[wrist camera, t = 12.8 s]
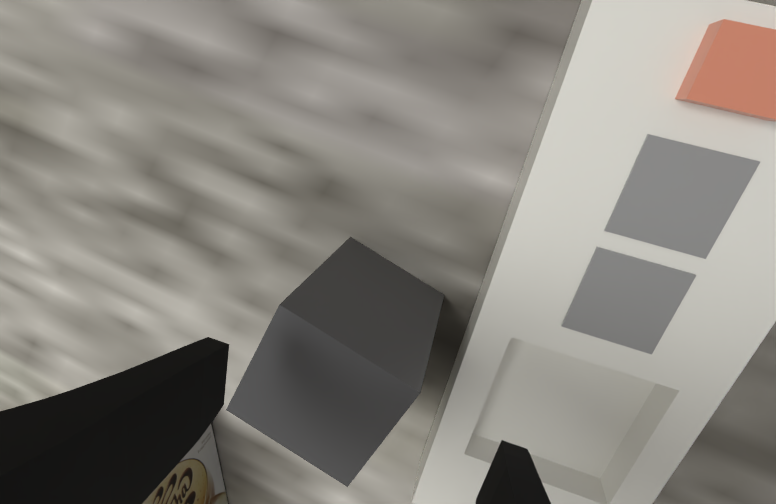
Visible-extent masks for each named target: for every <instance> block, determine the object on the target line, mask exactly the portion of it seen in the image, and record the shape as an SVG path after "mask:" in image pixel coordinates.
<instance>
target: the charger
mask: <svg viewBox="0 0 776 504" xmlns="http://www.w3.org/2000/svg"><path fill="white" fill-rule="evenodd" d="M443 298H444V294H442V293H440V292H439V291H437V290H435V289H434V288H432V287H431V286H429V285H427V284H426V283H424V282H423V281H421V280H419V279H418V278H416V277H414V276H413V275H411V274H410V273H408V272H406V271H405V270H403V269H401V268H400V267H398V266H397V265H395V264H393V263H392V262H390V261H389V260H387V259H385V258H384V257H382V256H380V255H379V254H377V253H376V252H374V251H372V250H371V249H369V248H368V247H366V246H364V245H363V244H361V243H359V242H358V241H356V240H355V239H353V238H351V237H350V238H349V239H348V240H347V241H346V242H345V243H344V244H343V245H342V246H341V247H339V248H338V249H337V250H336V251H335V252H334V253H333V254H332V255H331V256H330V257H329V258H328V259H327V260H326V261H325V262H324V263H323V264H322V265H321V266H320V267H319V268H317V269H316V270H315V271H314V272H313V273H312V274H311V275H310V276H309V277H308V278H307V279H306V280H305V281H304V282H303V283H302V284H301V285H300V286H299V287H298V288H296V289H295V290H294V291H293V292H292V293H291V294H290V295H289V296H288V297H287V298H286V299H285V300H284V301H283V302H282V303H281V304H280V305H279V307H278V309H277V311H276V313H275V315H274V317H273V319H272V321H271V323H270V324H269V326H268V328H267V330H266V332H265V334H264V336H263V338H262V340H261V342H260V344H259V346H258V348H257V350H256V352H255V354H254V356H253V358H252V360H251V362H250V364H249V366H248V368H247V370H246V372H245V374H244V376H243V378H242V380H241V382H240V384H239V386H238V388H237V390H236V392H235V394H234V396H233V398H232V399H231V401H230V403H229V405H228V407H227V409H226V410H227V411H229V412H230V413H232V414H233V415H235V416H237V417H238V418H240V419H241V420H243V421H245V422H246V423H248V424H249V425H251V426H252V427H254V428H256V429H257V430H259V431H260V432H262V433H263V434H265V435H267V436H268V437H270V438H271V439H273V440H274V441H276V442H278V443H279V444H281V445H282V446H284V447H286V448H287V449H289V450H290V451H292V452H293V453H295V454H297V455H298V456H300V457H301V458H303V459H304V460H306V461H308V462H309V463H311V464H312V465H314V466H315V467H317V468H319V469H320V470H322V471H323V472H325V473H327V474H328V475H330V476H331V477H333V478H334V479H336V480H338V481H339V482H341V483H342V484H344V485H345V486H347V487H348V486H349V484H350V483H351V482H352V480H353V479H354V478H355V476H356V475H357V474H358V473H359V471H360V470H361V469H362V467H363V466H364V465H365V464H366V462H367V461H368V460H369V458H370V457H371V456H372V455H373V453H374V452H375V451H376V449H377V448H378V447H379V445H380V444H381V443H382V442H383V440H384V439H385V438H386V436H387V435H388V434H389V433H390V431H391V430H392V429H393V427H394V426H395V425H396V424H397V422H398V421H399V420H400V418H401V417H402V416H403V414H404V413H405V412H406V411H407V409H408V408H409V407H410V405H411V404H412V403H413V402H414V400H415V399H416V398H417V396H418V395H419V394H420V392H421V388H422V384H423V380H424V376H425V372H426V368H427V363H428V359H429V355H430V351H431V347H432V343H433V339H434V335H435V331H436V327H437V323H438V318H439V314H440V310H441V306H442V302H443Z"/></svg>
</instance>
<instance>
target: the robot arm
mask: <svg viewBox="0 0 776 504" xmlns="http://www.w3.org/2000/svg"><path fill="white" fill-rule="evenodd" d="M228 350H229V344H226V343H224V342H221V341H218V340H215V339H212V338H209V337H207V338H205V339H202V340H199V341H197V342H194V343H192V344H189V345H187V346H184V347H182V348H179V349H177V350H175V351H172V352H170V353H167V354H165V355H163V356H160V357H158V358H155V359H153V360H150V361H148V362H145V363H143V364H140V365H138V366H135V367H133V368H130V369H128V370H125V371H123V372H120V373H118V374H115V375H112V376H109V377H107V378H104V379H101V380H98V381H95V382H93V383H90V384H87V385H84V386H82V387H79V388H76V389H73V390H70V391H67V392H64V393H61V394H58V395H55V396H52V397H49V398H46V399H42V400H39V401H36V402H32V403H29V404H25V405H22V406H18V407H15V408H11V409H8V410H4V411H0V504H142V503H143V502H144V501H145V500H146V499H147V498H148V497H149V496H150V494H151V493H152V492H153V491H154V490H155V489H156V488H157V487H158V486H159V484H160V483H161V482H162V481H163V480H164V479H165V478H166V477H167V476H168V474H169V473H170V472H171V471H172V470H173V469H174V468H175V467H176V465H177V464H178V463H179V462H180V461H181V460H182V459H183V458H184V456H185V455H186V454H187V453H188V452H189V451H190V450H191V449H192V447H193V446H194V445H195V444H196V443H197V442H198V440H199V439H200V438H201V436H202V435H203V434H204V432H205V431H206V430H207V428H208V427H209V425H210V424H211V423H212V421H213V420H214V418H215V417H216V415H217V414H218V412H219V411H220V409H221V408H222V406H223V405H224V395H225V384H226V372H227V361H228ZM476 504H551V502H550V500H549V498H548V495H547V493H546V491H545V488H544V486H543V484H542V481H541V479H540V477H539V474H538V472H537V470H536V467H535V465H534V462H533V460H532V458H531V455H530V453H529V451H528V449H526V448H523V447H520V446H518V445H515V444H512V443H509V442H506V441H503V440H501V443H500V445H499V447H498V449H497V452H496V454H495V456H494V459H493V461H492V463H491V466H490V468H489V470H488V473H487V475H486V477H485V480H484V482H483V484H482V487H481V489H480V491H479V493H478V496H477V498H476Z"/></svg>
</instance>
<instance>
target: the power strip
mask: <svg viewBox="0 0 776 504" xmlns="http://www.w3.org/2000/svg"><path fill="white" fill-rule="evenodd" d="M775 322H776V6H771V5H766V4H761V3H756V2H751V1H746V0H581V3H580V6H579V9H578V12H577V15H576V18H575V20H574V23H573V26H572V29H571V32H570V35H569V37H568V40H567V43H566V46H565V49H564V52H563V55H562V57H561V60H560V63H559V66H558V69H557V72H556V74H555V77H554V80H553V83H552V86H551V89H550V92H549V94H548V97H547V100H546V103H545V106H544V109H543V111H542V114H541V117H540V120H539V123H538V126H537V129H536V131H535V134H534V137H533V140H532V143H531V146H530V149H529V151H528V154H527V157H526V160H525V163H524V166H523V168H522V171H521V174H520V177H519V180H518V183H517V186H516V188H515V191H514V194H513V197H512V200H511V203H510V205H509V208H508V211H507V214H506V217H505V220H504V223H503V225H502V228H501V231H500V234H499V237H498V240H497V242H496V245H495V248H494V251H493V254H492V257H491V260H490V262H489V265H488V268H487V271H486V274H485V277H484V280H483V282H482V285H481V288H480V291H479V294H478V297H477V299H476V302H475V305H474V308H473V311H472V314H471V317H470V319H469V322H468V325H467V328H466V331H465V334H464V336H463V339H462V342H461V345H460V348H459V351H458V354H457V356H456V359H455V362H454V365H453V368H452V371H451V373H450V376H449V379H448V382H447V385H446V388H445V391H444V393H443V396H442V399H441V402H440V405H439V408H438V410H437V413H436V416H435V419H434V422H433V425H432V428H431V430H430V433H429V436H428V439H427V442H426V445H425V448H424V450H423V453H422V456H421V459H420V463H419V468H418V473H417V478H416V483H415V488H414V493H413V498H412V503H414V504H476V498H477V496H478V493H479V491H480V489H481V487H482V484H483V482H484V480H485V477H486V475H487V473H488V470H489V468H490V466H491V463H492V461H493V459H494V456H495V454H496V452H497V449H498V447H499V445H500V443H501V440H503V441H506V442H509V443H512V444H515V445H518V446H520V447H523V448H526V449H528V451H529V453H530V455H531V458H532V460H533V462H534V465H535V467H536V470H537V472H538V474H539V477H540V479H541V481H542V484H543V486H544V488H545V491H546V493H547V495H548V498H549V500H550V502H551V504H653V502H654V501H655V499H656V498H657V496H658V495H659V493H660V492H661V490H662V489H663V487H664V486H665V484H666V483H667V481H668V480H669V478H670V477H671V475H672V474H673V472H674V471H675V469H676V468H677V467H678V465H679V464H680V462H681V461H682V459H683V458H684V456H685V455H686V453H687V452H688V450H689V449H690V447H691V446H692V444H693V443H694V441H695V440H696V438H697V437H698V435H699V434H700V432H701V431H702V430H703V428H704V427H705V425H706V424H707V422H708V421H709V419H710V418H711V416H712V415H713V413H714V412H715V410H716V409H717V407H718V406H719V404H720V403H721V401H722V400H723V398H724V397H725V396H726V394H727V393H728V391H729V390H730V388H731V387H732V385H733V384H734V382H735V381H736V379H737V378H738V376H739V375H740V373H741V372H742V370H743V369H744V367H745V366H746V364H747V363H748V361H749V360H750V359H751V357H752V356H753V354H754V353H755V351H756V350H757V348H758V347H759V345H760V344H761V342H762V341H763V339H764V338H765V336H766V335H767V333H768V332H769V330H770V329H771V327H772V326H773V325H774V323H775Z"/></svg>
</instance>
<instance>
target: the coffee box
mask: <svg viewBox="0 0 776 504" xmlns="http://www.w3.org/2000/svg"><path fill="white" fill-rule="evenodd" d="M142 504H228V501H227V496H226V491H225V487H224V482H223V477H222V472H221V467H220V463H219V458H218V453H217V448H216V443H215V439H214V434H213V430H212V425H211V424H210V425H209V427H208V428H207V430H206V431H205V432H204V434H203V435H202V436H201V438H200V439H199V440H198V442H197V443H196V444H195V445H194V446H193V447H192V449H191V450H190V451H189V452H188V453H187V454H186V455H185V456H184V458H183V459H182V460H181V461H180V462H179V463H178V464H177V465H176V467H175V468H174V469H173V470H172V471H171V472H170V473H169V474H168V476H167V477H166V478H165V479H164V480H163V481H162V482H161V483H160V484H159V486H158V487H157V488H156V489H155V490H154V491H153V492H152V493H151V494H150V496H149V497H148V498H147V499H146V500H145V501H144V502H143V503H142Z"/></svg>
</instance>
